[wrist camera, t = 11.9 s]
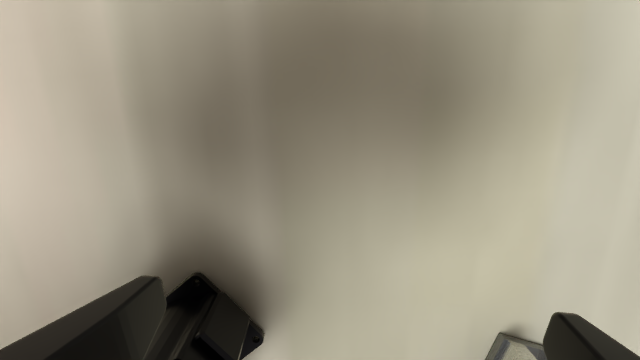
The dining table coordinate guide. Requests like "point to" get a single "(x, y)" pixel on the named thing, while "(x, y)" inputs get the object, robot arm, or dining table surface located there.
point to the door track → (515, 349)
